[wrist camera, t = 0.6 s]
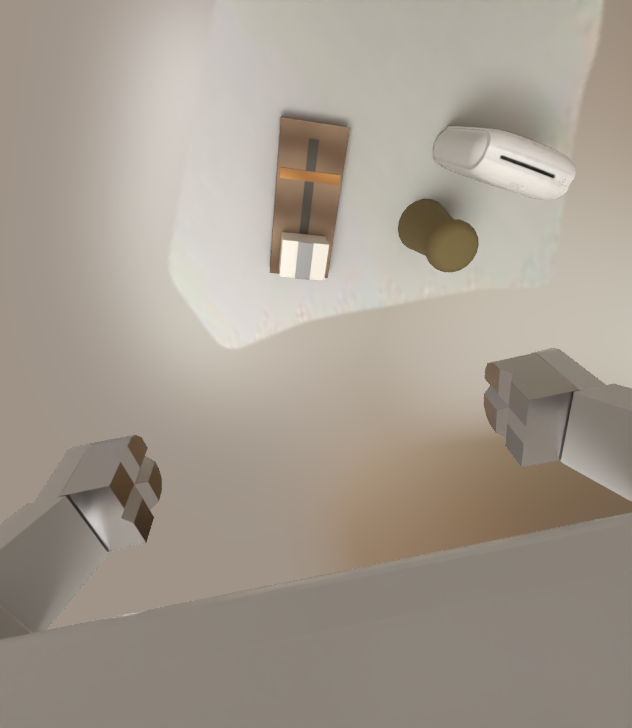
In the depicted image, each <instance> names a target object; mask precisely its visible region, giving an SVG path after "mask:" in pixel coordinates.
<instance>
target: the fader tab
mask: <svg viewBox="0 0 632 728" xmlns="http://www.w3.org/2000/svg"><path fill="white" fill-rule="evenodd" d="M328 250H329V243H328V241H327V239H326V237H325V236H316V235H307V234H298V233H288V232H282V237H281V249H280V261H279V275H280V276H282V277H292V278H297V279H307V280H309V279H314V280H324V277H325V270H326V264H327V257H328Z"/></svg>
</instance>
